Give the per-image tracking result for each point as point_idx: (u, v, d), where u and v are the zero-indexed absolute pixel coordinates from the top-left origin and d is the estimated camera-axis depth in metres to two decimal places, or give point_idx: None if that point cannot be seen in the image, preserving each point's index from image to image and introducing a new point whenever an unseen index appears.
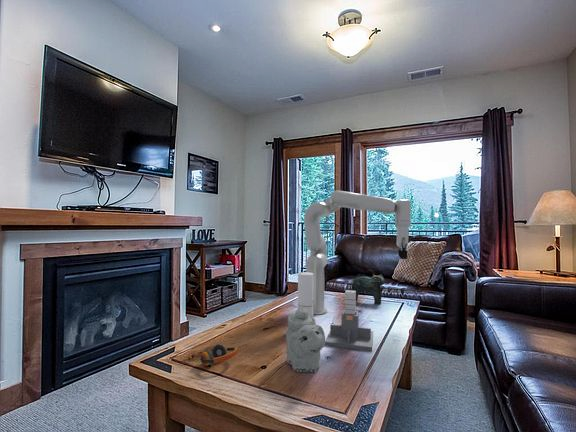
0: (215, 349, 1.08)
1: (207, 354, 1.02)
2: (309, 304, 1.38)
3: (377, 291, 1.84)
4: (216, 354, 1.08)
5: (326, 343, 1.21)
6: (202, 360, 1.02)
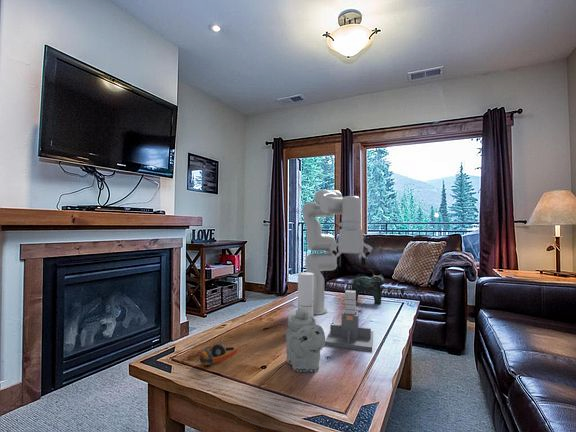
0: (214, 349, 1.08)
1: (206, 354, 1.02)
2: (309, 304, 1.38)
3: (377, 291, 1.84)
4: (215, 354, 1.08)
5: (326, 343, 1.21)
6: (201, 360, 1.02)
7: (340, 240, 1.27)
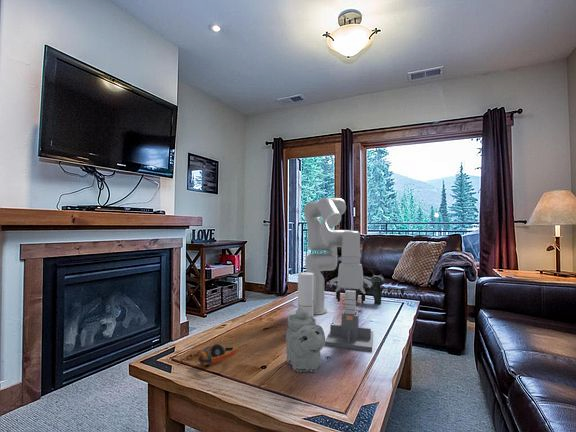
0: (213, 349, 1.08)
1: (205, 354, 1.02)
2: (309, 304, 1.38)
3: (377, 291, 1.84)
4: (214, 354, 1.08)
5: (326, 343, 1.21)
6: (200, 360, 1.02)
7: (340, 275, 1.27)
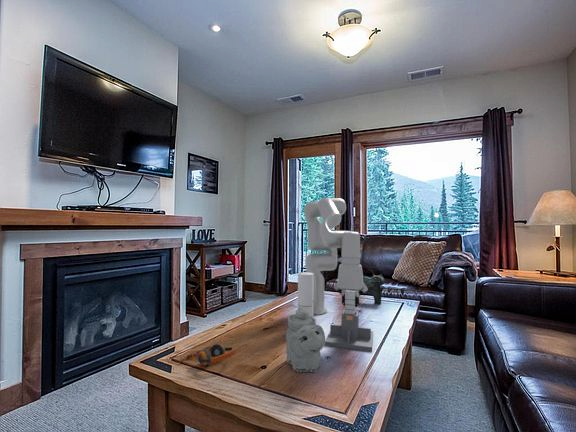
0: (213, 349, 1.08)
1: (204, 354, 1.02)
2: (309, 304, 1.38)
3: (377, 291, 1.84)
4: (214, 354, 1.08)
5: (326, 343, 1.21)
6: (199, 360, 1.02)
7: (340, 276, 1.27)
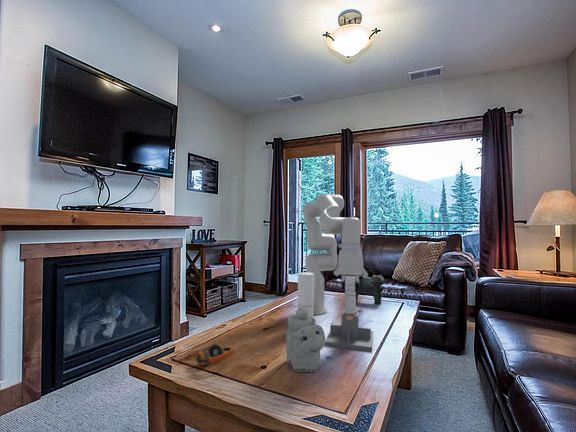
0: (212, 349, 1.08)
1: (203, 354, 1.02)
2: (309, 304, 1.38)
3: (377, 291, 1.84)
4: (213, 354, 1.08)
5: (326, 343, 1.21)
6: (198, 360, 1.02)
7: (340, 262, 1.27)
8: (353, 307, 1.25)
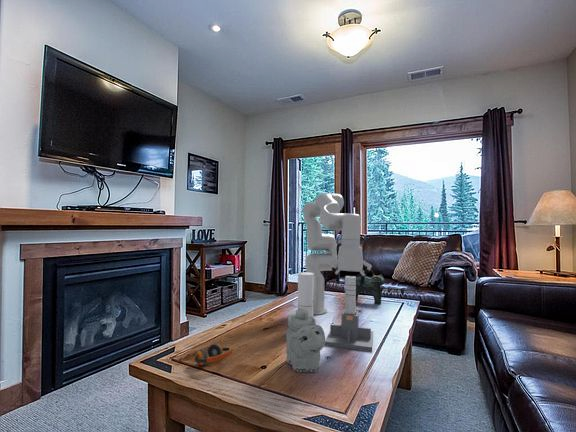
0: (210, 349, 1.08)
1: (201, 354, 1.02)
2: (309, 304, 1.38)
3: (377, 291, 1.84)
4: (211, 354, 1.08)
5: (326, 343, 1.21)
6: (196, 360, 1.02)
7: (339, 258, 1.27)
8: (353, 307, 1.25)
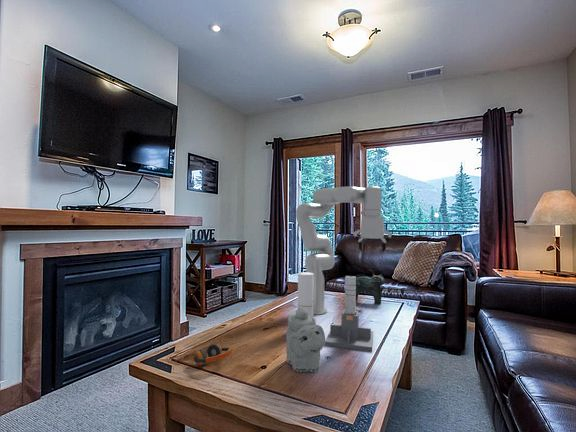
0: (210, 349, 1.08)
1: (200, 354, 1.02)
2: (309, 304, 1.38)
3: (377, 291, 1.84)
4: (211, 354, 1.08)
5: (326, 343, 1.21)
6: (195, 359, 1.02)
7: (362, 226, 1.39)
8: (353, 307, 1.25)
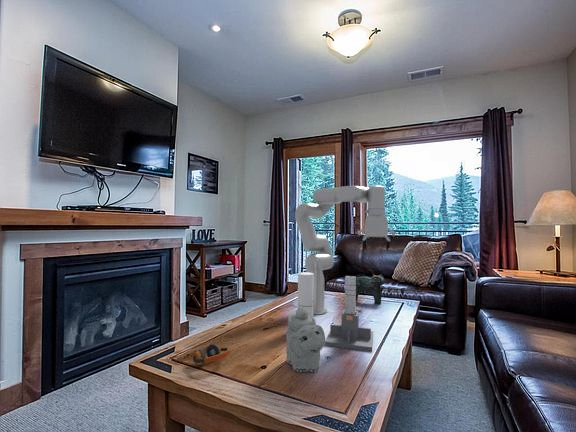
0: (209, 349, 1.08)
1: (199, 354, 1.02)
2: (309, 304, 1.38)
3: (377, 291, 1.84)
4: (210, 354, 1.08)
5: (326, 343, 1.21)
6: (194, 359, 1.02)
7: (367, 225, 1.42)
8: (353, 307, 1.25)
